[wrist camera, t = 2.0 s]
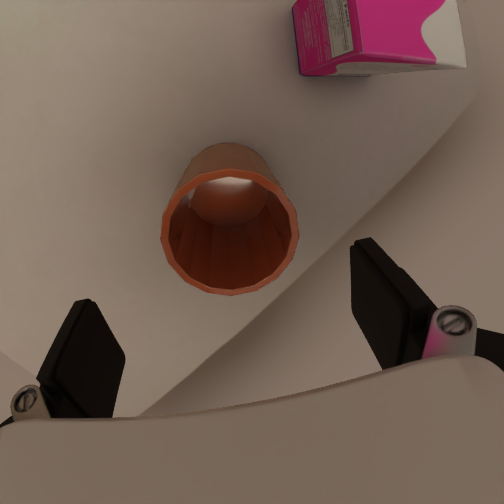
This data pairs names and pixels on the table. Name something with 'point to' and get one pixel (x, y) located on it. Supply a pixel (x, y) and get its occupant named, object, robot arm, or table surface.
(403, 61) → the supplement box
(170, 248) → the cup
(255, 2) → the table surface
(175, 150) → the table surface
